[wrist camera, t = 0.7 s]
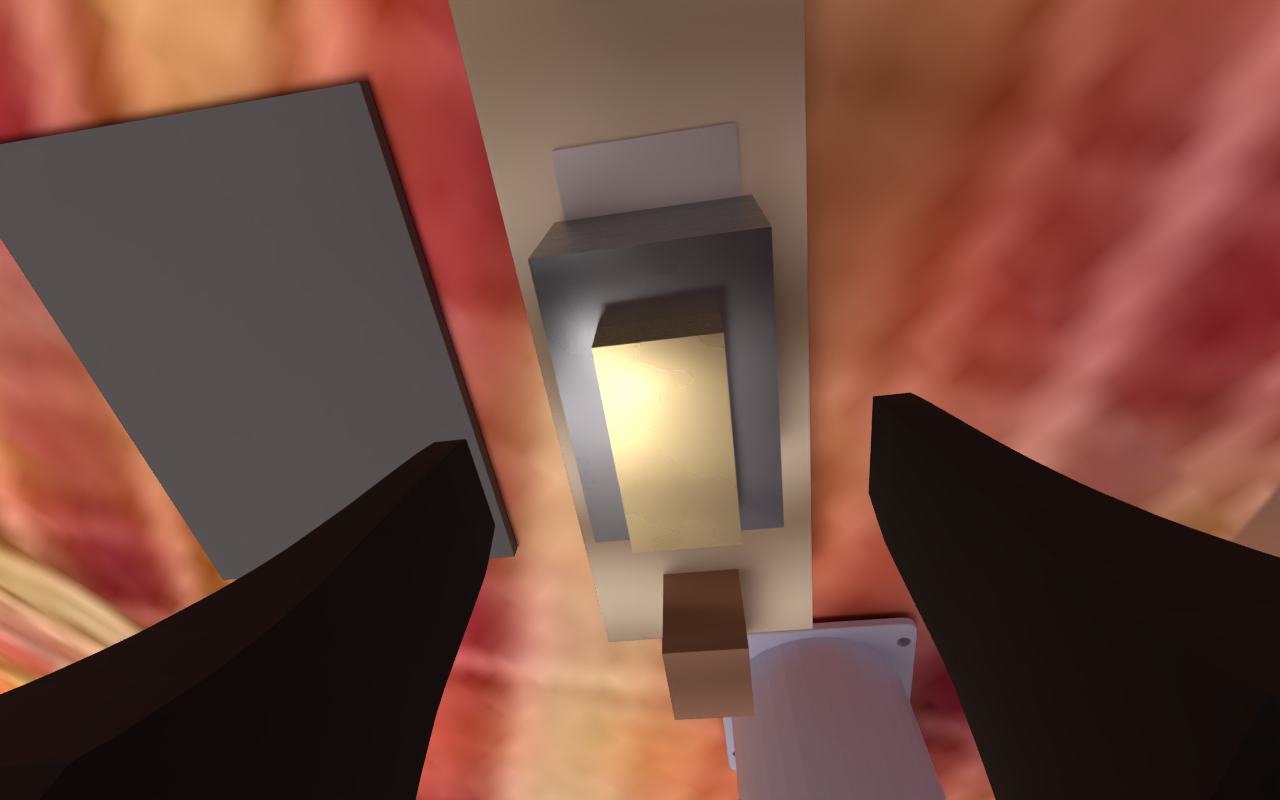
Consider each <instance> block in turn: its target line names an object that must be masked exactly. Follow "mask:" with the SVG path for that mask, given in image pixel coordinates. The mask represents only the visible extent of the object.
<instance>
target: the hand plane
mask: <svg viewBox="0 0 1280 800" xmlns="http://www.w3.org/2000/svg"><path fill="white" fill-rule="evenodd" d="M448 1H449V5H450V9H451V13H452V17H453V21H454V25H455V29H456V33H457V37H458V41H459V45H460V49H461V53H462V57H463V61H464V65H465V69H466V73H467V77H468V81H469V85H470V89H471V93H472V97H473V101H474V105H475V109H476V113H477V117H478V121H479V125H480V129H481V133H482V137H483V141H484V145H485V149H486V153H487V157H488V161H489V165H490V169H491V173H492V177H493V181H494V185H495V189H496V193H497V197H498V201H499V205H500V209H501V213H502V217H503V221H504V225H505V229H506V233H507V237H508V241H509V245H510V249H511V253H512V257H513V261H514V265H515V268H516V272H517V276H518V280H519V284H520V288H521V292H522V296H523V300H524V304H525V308H526V312H527V316H528V320H529V324H530V328H531V332H532V336H533V340H534V344H535V348H536V352H537V356H538V360H539V364H540V368H541V372H542V376H543V380H544V384H545V388H546V392H547V396H548V400H549V404H550V408H551V412H552V416H553V420H554V424H555V428H556V432H557V436H558V440H559V444H560V448H561V452H562V456H563V460H564V464H565V468H566V472H567V476H568V480H569V484H570V488H571V492H572V496H573V500H574V504H575V508H576V512H577V516H578V520H579V524H580V528H581V532H582V536H583V540H584V544H585V548H586V552H587V556H588V560H589V564H590V568H591V572H592V576H593V580H594V584H595V588H596V592H597V596H598V600H599V604H600V608H601V612H602V616H603V620H604V624H605V628H606V632H607V636H608V640H609V642H616V641H631V640H647V639H662V655H663V660H664V665H665V671H666V676H667V681H668V686H669V692H670V697H671V702H672V707H673V713H674V718H675V720H681V719H701V718H722V717H742V716H755V713H754V701H753V690H752V679H751V668H750V656H749V646H748V639H747V633H756V632H772V631H788V630H803V629H813V620H812V545H811V471H810V397H809V323H808V249H807V175H806V101H805V27H804V0H448ZM751 194H752V195H753V197H754V199H755V200H756V202H757V204H758V205H759V207H760V208H761V210H762V212H763V213H764V215H765V217H766V218H767V220H768V221H769V223H770V225H771V226H772V246H773V270H774V295H775V319H776V343H777V367H778V391H779V416H780V440H781V464H782V488H783V512H784V527H780V528H768V529H755V530H743V531H741V540H742V544H740V545H728V546H715V547H703V548H690V549H677V550H665V551H652V552H640V553H633V551H632V546H631V541H630V540H622V541H609V542H597V543H595V539H594V535H593V531H592V527H591V523H590V518H589V514H588V510H587V506H586V502H585V498H584V493H583V489H582V485H581V481H580V477H579V472H578V468H577V464H576V460H575V456H574V451H573V447H572V443H571V439H570V435H569V431H568V426H567V422H566V418H565V414H564V410H563V405H562V401H561V397H560V393H559V389H558V384H557V380H556V376H555V372H554V368H553V363H552V359H551V355H550V351H549V347H548V343H547V338H546V334H545V330H544V326H543V322H542V317H541V313H540V309H539V305H538V301H537V296H536V292H535V288H534V284H533V280H532V276H531V271H530V267H529V263H528V258H529V257H530V256H531V254H532V253H533V251H534V250H535V249H536V247H537V246H538V244H539V243H540V242H541V240H542V239H543V238H544V236H545V235H546V233H547V232H548V231H549V229H550V228H551V226H552V225H553V224H554V222H560V221H568V220H575V219H582V218H589V217H596V216H603V215H610V214H617V213H624V212H631V211H638V210H645V209H652V208H659V207H667V206H674V205H681V204H688V203H695V202H702V201H709V200H716V199H723V198H730V197H737V196H744V195H751Z"/></svg>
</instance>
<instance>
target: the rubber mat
mask: <svg viewBox="0 0 1280 800" xmlns="http://www.w3.org/2000/svg"><path fill="white" fill-rule="evenodd" d="M0 238H1V240H2V241H3V243H4V244H5V246H6V247H7V249H8V250H9V252H10V253H11V255H12V256H13V258H14V259H15V261H16V263H17V264H18V266H19V267H20V269H21V270H22V272H23V273H24V275H25V276H26V278H27V279H28V281H29V282H30V284H31V286H32V287H33V289H34V290H35V292H36V293H37V295H38V296H39V298H40V299H41V301H42V302H43V304H44V306H45V307H46V309H47V310H48V312H49V313H50V315H51V316H52V318H53V319H54V321H55V322H56V324H57V325H58V327H59V329H60V330H61V332H62V333H63V335H64V336H65V338H66V339H67V341H68V342H69V344H70V345H71V347H72V348H73V350H74V352H75V353H76V355H77V356H78V358H79V359H80V361H81V362H82V364H83V365H84V367H85V368H86V370H87V372H88V373H89V375H90V376H91V378H92V379H93V381H94V382H95V384H96V385H97V387H98V388H99V390H100V391H101V393H102V395H103V396H104V398H105V399H106V401H107V402H108V404H109V405H110V407H111V408H112V410H113V411H114V413H115V414H116V416H117V418H118V419H119V421H120V422H121V424H122V425H123V427H124V428H125V430H126V431H127V433H128V434H129V436H130V438H131V439H132V441H133V442H134V444H135V445H136V447H137V448H138V450H139V451H140V453H141V454H142V456H143V457H144V459H145V461H146V462H147V464H148V465H149V467H150V468H151V470H152V471H153V473H154V474H155V476H156V477H157V479H158V480H159V482H160V484H161V485H162V487H163V488H164V490H165V491H166V493H167V494H168V496H169V497H170V499H171V500H172V502H173V504H174V505H175V507H176V508H177V510H178V511H179V513H180V514H181V516H182V517H183V519H184V520H185V522H186V523H187V525H188V527H189V528H190V530H191V531H192V533H193V534H194V536H195V537H196V539H197V540H198V542H199V543H200V545H201V546H202V548H203V550H204V551H205V553H206V554H207V556H208V557H209V559H210V560H211V562H212V563H213V565H214V566H215V568H216V570H217V571H218V573H219V574H220V576H221V577H222V579H223V580H229V579H239V578H240V577H242V576H244V575H245V574H247V573H249V572H250V571H252V570H254V569H255V568H257V567H259V566H260V565H262V564H264V563H265V562H267V561H268V560H270V559H271V558H273V557H275V556H276V555H278V554H279V553H281V552H282V551H284V550H285V549H287V548H288V547H290V546H291V545H293V544H294V543H296V542H297V541H298V540H300V539H301V538H303V537H304V536H306V535H307V534H308V533H310V532H311V531H313V530H314V529H315V528H317V527H318V526H320V525H321V524H322V523H324V522H325V521H327V520H328V519H330V518H331V517H332V516H334V515H335V514H337V513H338V512H339V511H341V510H342V509H344V508H345V507H346V506H348V505H349V504H350V503H352V502H353V501H354V500H356V499H357V498H358V497H359V496H361V495H362V494H363V493H365V492H366V491H367V490H369V489H370V488H371V487H373V486H374V485H375V484H377V483H378V482H379V481H381V480H382V479H383V478H385V477H386V476H387V475H388V474H390V473H391V472H392V471H394V470H395V469H396V468H398V467H399V466H400V465H402V464H403V463H404V462H406V461H407V460H408V459H410V458H411V457H412V456H414V455H415V454H417V453H418V452H420V451H421V450H423V449H424V448H426V447H427V446H429V445H431V444H432V443H434V442H440V441H450V440H459V439H466V440H467V443H468V446H469V449H470V452H471V454H472V457H473V460H474V463H475V466H476V469H477V472H478V475H479V478H480V481H481V484H482V487H483V490H484V493H485V496H486V499H487V502H488V505H489V508H490V511H491V514H492V517H493V519H494V522H495V530H494V536H493V541H492V546H491V552H490V556H489V558H501V557H514V556H515V553H516V550H517V544H516V541H515V538H514V535H513V532H512V529H511V526H510V523H509V519H508V516H507V513H506V510H505V507H504V504H503V501H502V498H501V495H500V491H499V488H498V485H497V482H496V479H495V476H494V473H493V470H492V467H491V463H490V460H489V457H488V454H487V451H486V448H485V445H484V442H483V439H482V435H481V432H480V429H479V426H478V423H477V420H476V417H475V414H474V411H473V407H472V404H471V401H470V398H469V395H468V392H467V389H466V386H465V383H464V379H463V376H462V373H461V370H460V367H459V364H458V361H457V358H456V354H455V351H454V348H453V345H452V342H451V339H450V336H449V333H448V330H447V326H446V323H445V320H444V317H443V314H442V311H441V308H440V305H439V302H438V298H437V295H436V292H435V289H434V286H433V283H432V280H431V277H430V274H429V270H428V267H427V264H426V261H425V258H424V255H423V252H422V249H421V246H420V242H419V239H418V236H417V233H416V230H415V227H414V224H413V221H412V218H411V214H410V211H409V208H408V205H407V202H406V199H405V196H404V193H403V190H402V186H401V183H400V180H399V177H398V174H397V171H396V168H395V165H394V162H393V158H392V155H391V152H390V149H389V146H388V143H387V140H386V137H385V134H384V130H383V127H382V124H381V121H380V118H379V115H378V112H377V109H376V106H375V102H374V99H373V96H372V93H371V90H370V87H369V84H368V82H357V83H352V84H346V85H340V86H334V87H329V88H323V89H317V90H311V91H305V92H300V93H294V94H288V95H282V96H277V97H271V98H265V99H259V100H254V101H248V102H242V103H236V104H230V105H225V106H219V107H213V108H207V109H202V110H196V111H190V112H184V113H178V114H173V115H167V116H161V117H155V118H150V119H144V120H138V121H132V122H126V123H121V124H115V125H109V126H103V127H98V128H92V129H86V130H80V131H75V132H69V133H63V134H57V135H51V136H46V137H40V138H34V139H28V140H23V141H17V142H11V143H5V144H0Z"/></svg>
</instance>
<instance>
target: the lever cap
mask: <svg viewBox="0 0 1280 800" xmlns="http://www.w3.org/2000/svg"><path fill="white" fill-rule="evenodd" d="M528 263H529V267H530V271H531V276H532V280H533V284H534V288H535V292H536V296H537V301H538V305H539V309H540V313H541V317H542V322H543V326H544V330H545V334H546V338H547V343H548V347H549V351H550V355H551V359H552V363H553V368H554V372H555V376H556V380H557V384H558V389H559V393H560V397H561V401H562V405H563V410H564V414H565V418H566V422H567V426H568V431H569V435H570V439H571V443H572V447H573V451H574V456H575V460H576V464H577V468H578V472H579V477H580V481H581V485H582V489H583V493H584V498H585V502H586V506H587V510H588V514H589V518H590V523H591V527H592V531H593V535H594V539H595V543H597V542H609V541H622V540H630V541H631V546H632V551H633V553H640V552H652V551H665V550H677V549H690V548H703V547H715V546H728V545H740V544H742V540H741V531H743V530H755V529H768V528H780V527H784V512H783V488H782V464H781V440H780V416H779V391H778V367H777V343H776V319H775V295H774V270H773V246H772V226H771V225H770V223H769V221H768V220H767V218H766V217H765V215H764V213H763V212H762V210H761V208H760V207H759V205H758V204H757V202H756V200H755V199H754V197H753V195H752V194H751V195H744V196H737V197H730V198H723V199H716V200H709V201H702V202H695V203H688V204H681V205H674V206H667V207H659V208H652V209H645V210H638V211H631V212H624V213H617V214H610V215H603V216H596V217H589V218H582V219H575V220H568V221H560V222H554V224H553V225H552V226H551V228H550V229H549V231H548V232H547V233H546V235H545V236H544V238H543V239H542V240H541V242H540V243H539V244H538V246H537V247H536V249H535V250H534V251H533V253H532V254H531V256H530V257H529V258H528Z"/></svg>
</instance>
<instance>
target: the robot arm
mask: <svg viewBox="0 0 1280 800" xmlns="http://www.w3.org/2000/svg"><path fill="white" fill-rule="evenodd" d="M869 495H870V498H871V501H872V505H873V508H874V511H875V514H876V517H877V520H878V523H879V526H880V529H881V532H882V535H883V538H884V540H885V543H886V545H887V547H888V549H889V552H890V554H891V556H892V558H893V560H894V562H895V564H896V566H897V568H898V570H899V572H900V574H901V576H902V578H903V580H904V582H905V584H906V587H907V589H908V591H909V593H910V595H911V597H912V599H913V601H914V603H915V605H916V607H917V609H918V611H919V613H920V615H921V617H922V619H923V621H924V623H925V625H926V627H927V629H928V631H929V633H930V635H931V637H932V639H933V641H934V643H935V645H936V647H937V649H938V651H939V653H940V655H941V657H942V659H943V661H944V664H945V666H946V668H947V670H948V673H949V675H950V677H951V679H952V682H953V684H954V686H955V689H956V692H957V694H958V697H959V700H960V702H961V705H962V708H963V710H964V713H965V716H966V718H967V721H968V724H969V726H970V729H971V732H972V734H973V737H974V740H975V742H976V745H977V748H978V750H979V753H980V756H981V759H982V762H983V765H984V767H985V770H986V773H987V776H988V779H989V782H990V784H991V787H992V790H993V793H994V796H995V799H996V800H1280V557H1276V556H1273V555H1269V554H1266V553H1263V552H1260V551H1257V550H1254V549H1251V548H1248V547H1245V546H1242V545H1239V544H1236V543H1234V542H1231V541H1228V540H1225V539H1222V538H1219V537H1216V536H1213V535H1210V534H1207V533H1204V532H1201V531H1198V530H1195V529H1192V528H1190V527H1187V526H1184V525H1181V524H1179V523H1176V522H1173V521H1171V520H1168V519H1165V518H1162V517H1160V516H1157V515H1155V514H1152V513H1150V512H1147V511H1145V510H1142V509H1140V508H1138V507H1135V506H1133V505H1130V504H1128V503H1125V502H1123V501H1120V500H1118V499H1116V498H1113V497H1111V496H1108V495H1106V494H1103V493H1101V492H1099V491H1097V490H1094V489H1092V488H1090V487H1088V486H1085V485H1083V484H1081V483H1079V482H1077V481H1075V480H1073V479H1071V478H1069V477H1066V476H1064V475H1062V474H1060V473H1058V472H1056V471H1054V470H1052V469H1050V468H1048V467H1046V466H1044V465H1042V464H1040V463H1038V462H1036V461H1034V460H1032V459H1030V458H1028V457H1026V456H1024V455H1022V454H1020V453H1019V452H1017V451H1015V450H1013V449H1011V448H1009V447H1007V446H1005V445H1004V444H1002V443H1000V442H998V441H996V440H995V439H993V438H991V437H989V436H987V435H986V434H984V433H982V432H980V431H979V430H977V429H975V428H973V427H972V426H970V425H968V424H966V423H965V422H963V421H961V420H959V419H958V418H956V417H954V416H952V415H951V414H949V413H947V412H946V411H944V410H942V409H940V408H939V407H937V406H935V405H933V404H932V403H930V402H928V401H926V400H924V399H922V398H920V397H919V396H916V395H914V394H912V393H903V394H893V395H883V396H874V397H873V410H872V432H871V454H870V476H869ZM494 530H495V522H494V519H493V517H492V514H491V511H490V508H489V505H488V502H487V499H486V496H485V493H484V490H483V487H482V484H481V481H480V478H479V475H478V472H477V469H476V466H475V463H474V460H473V457H472V454H471V452H470V449H469V446H468V443H467V440H466V439H459V440H450V441H440V442H434V443H432V444H431V445H429V446H427V447H426V448H424V449H423V450H421V451H420V452H418V453H417V454H415V455H414V456H412V457H411V458H410V459H408V460H407V461H406V462H404V463H403V464H402V465H400V466H399V467H398V468H396V469H395V470H394V471H392V472H391V473H390V474H388V475H387V476H386V477H385V478H383V479H382V480H381V481H379V482H378V483H377V484H375V485H374V486H373V487H371V488H370V489H369V490H367V491H366V492H365V493H363V494H362V495H361V496H359V497H358V498H357V499H356V500H354V501H353V502H352V503H350V504H349V505H348V506H346V507H345V508H344V509H342V510H341V511H339V512H338V513H337V514H335V515H334V516H332V517H331V518H330V519H328V520H327V521H325V522H324V523H322V524H321V525H320V526H318V527H317V528H315V529H314V530H313V531H311V532H310V533H308V534H307V535H306V536H304V537H303V538H301V539H300V540H298V541H297V542H296V543H294V544H293V545H291V546H290V547H288V548H287V549H285V550H284V551H282V552H281V553H279V554H278V555H276V556H275V557H273V558H271V559H270V560H268V561H267V562H265V563H264V564H262V565H260V566H259V567H257V568H255V569H254V570H252V571H250V572H249V573H247V574H245V575H244V576H242V577H240V578H239V579H237V580H235V581H234V582H232V583H230V584H229V585H227V586H225V587H224V588H222V589H220V590H218V591H217V592H215V593H213V594H211V595H209V596H207V597H206V598H204V599H202V600H200V601H198V602H196V603H194V604H192V605H191V606H189V607H187V608H185V609H183V610H181V611H179V612H177V613H175V614H174V615H172V616H170V617H168V618H166V619H164V620H162V621H160V622H159V623H157V624H155V625H153V626H151V627H149V628H147V629H145V630H143V631H141V632H139V633H137V634H135V635H133V636H131V637H129V638H127V639H125V640H123V641H121V642H118V643H116V644H114V645H112V646H110V647H108V648H106V649H104V650H102V651H100V652H97V653H95V654H93V655H91V656H89V657H86V658H84V659H82V660H80V661H77V662H75V663H73V664H71V665H69V666H66V667H64V668H62V669H60V670H57V671H55V672H53V673H51V674H48V675H46V676H44V677H41V678H39V679H37V680H34V681H32V682H30V683H27V684H25V685H23V686H20V687H18V688H15V689H13V690H10V691H8V692H5V693H3V694H0V800H416V795H417V791H418V787H419V782H420V778H421V773H422V769H423V765H424V761H425V757H426V753H427V749H428V745H429V741H430V737H431V733H432V729H433V725H434V721H435V717H436V714H437V710H438V707H439V704H440V701H441V698H442V695H443V691H444V688H445V685H446V683H447V680H448V677H449V674H450V672H451V669H452V666H453V663H454V661H455V658H456V655H457V652H458V650H459V647H460V644H461V642H462V639H463V636H464V633H465V631H466V628H467V625H468V622H469V620H470V617H471V614H472V611H473V609H474V606H475V603H476V600H477V597H478V594H479V592H480V589H481V586H482V583H483V580H484V577H485V574H486V570H487V565H488V561H489V556H490V552H491V546H492V541H493V536H494ZM747 639H748V646H749V656H750V668H751V679H752V690H753V701H754V713H755V716H742V717H723V723H724V730H725V738H726V746H727V754H728V761H729V766H730V768H731V769H732V770H734V771H737V782H738V793H739V800H946V798H945V795H944V792H943V790H942V787H941V784H940V782H939V779H938V776H937V774H936V771H935V768H934V765H933V763H932V760H931V757H930V755H929V752H928V749H927V747H926V744H925V741H924V739H923V736H922V733H921V731H920V728H919V725H918V723H917V720H916V717H915V715H914V712H913V709H912V707H911V704H910V697H911V688H912V678H913V669H914V659H915V650H916V641H917V628H916V625H915V623H914V622H913V621H912V620H911V619H909V618H886V619H871V620H855V621H840V622H825V623H813V629H803V630H788V631H772V632H756V633H747Z"/></svg>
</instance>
